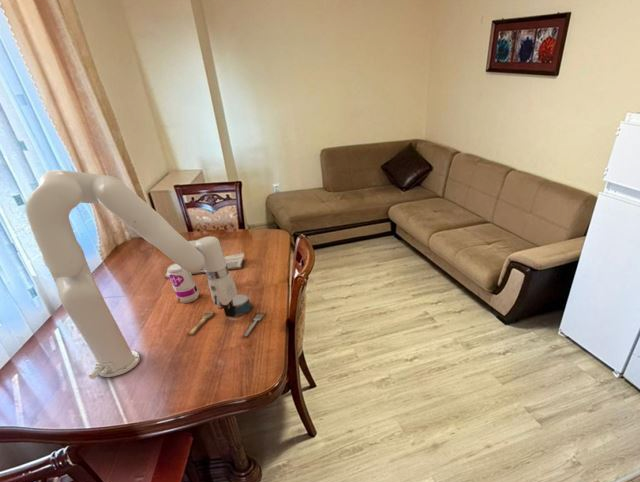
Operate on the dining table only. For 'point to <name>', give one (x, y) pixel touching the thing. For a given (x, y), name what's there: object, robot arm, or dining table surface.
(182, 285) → the supplement can
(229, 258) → the newspaper
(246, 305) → the tin
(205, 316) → the spoon
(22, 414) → the dining table surface
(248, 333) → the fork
